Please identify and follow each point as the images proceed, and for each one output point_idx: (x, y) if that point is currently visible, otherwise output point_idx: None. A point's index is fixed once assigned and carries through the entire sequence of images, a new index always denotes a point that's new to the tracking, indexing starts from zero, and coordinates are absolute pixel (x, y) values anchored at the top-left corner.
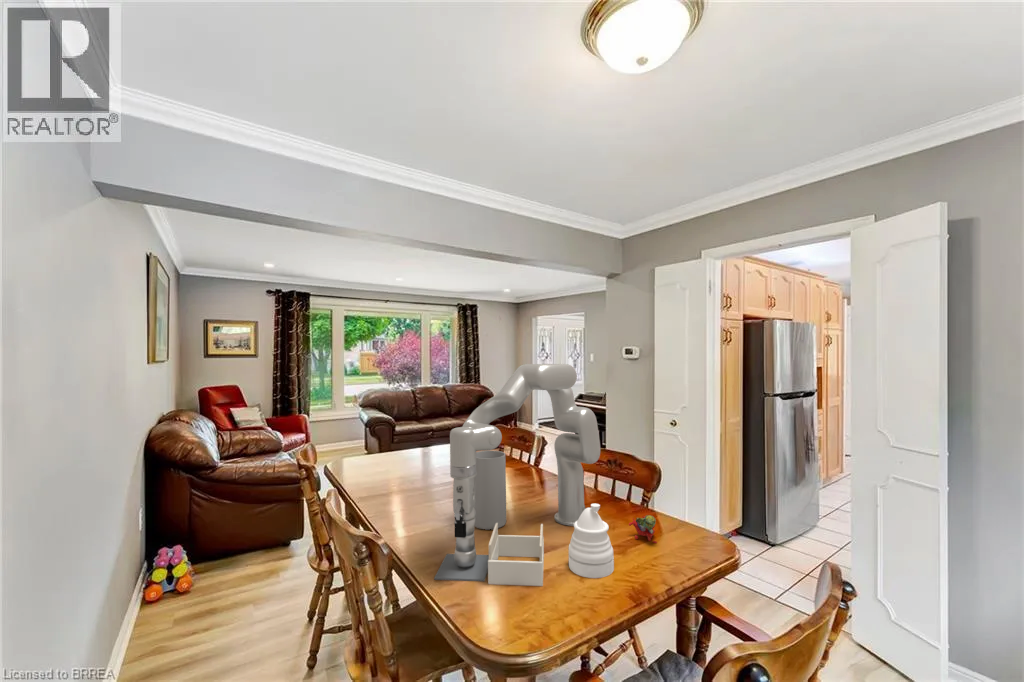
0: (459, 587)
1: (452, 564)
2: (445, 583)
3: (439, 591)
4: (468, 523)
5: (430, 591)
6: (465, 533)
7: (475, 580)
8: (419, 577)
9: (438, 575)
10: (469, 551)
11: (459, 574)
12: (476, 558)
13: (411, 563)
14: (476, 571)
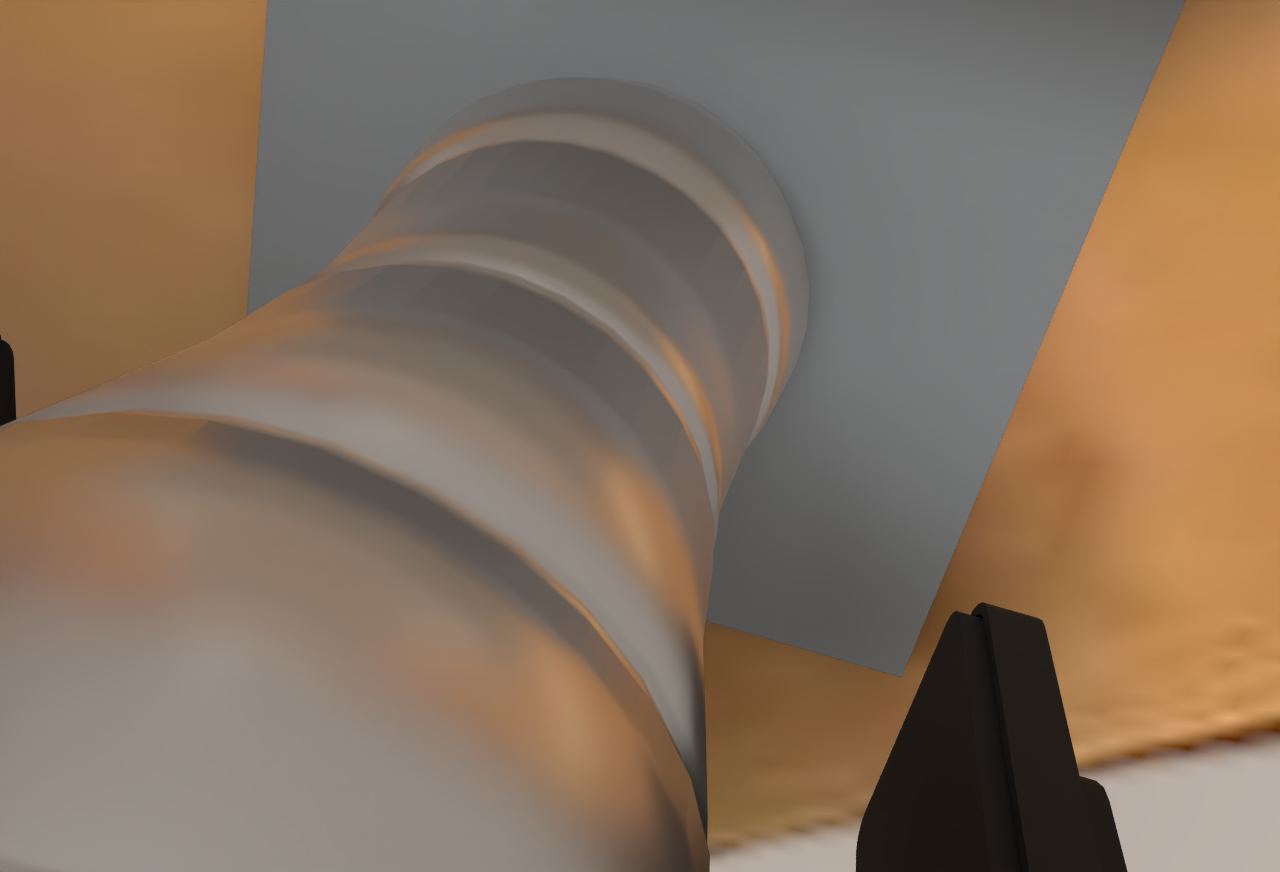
0: (1234, 363)
1: None
2: (1044, 539)
3: (1232, 621)
4: (694, 693)
5: (1186, 716)
6: (1047, 690)
7: (1133, 101)
8: (793, 803)
9: (853, 626)
10: (749, 280)
11: (899, 353)
12: (409, 35)
13: None
14: (877, 68)
